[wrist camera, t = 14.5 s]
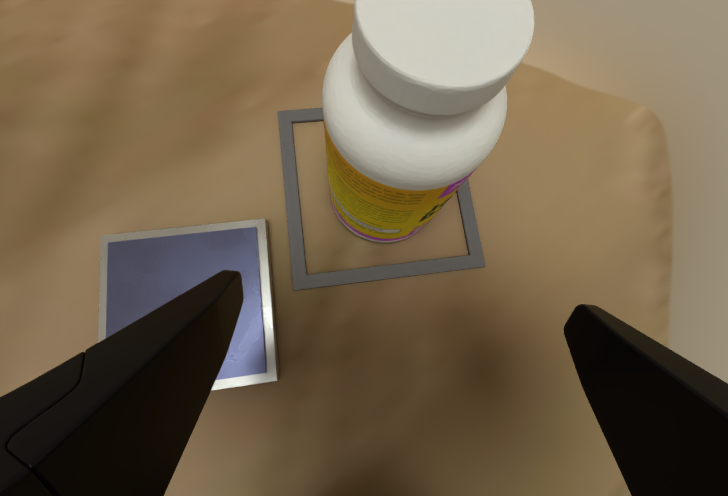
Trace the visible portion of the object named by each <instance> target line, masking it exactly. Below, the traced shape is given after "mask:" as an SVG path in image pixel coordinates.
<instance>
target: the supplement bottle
mask: <svg viewBox="0 0 728 496" xmlns="http://www.w3.org/2000/svg"><path fill="white" fill-rule="evenodd" d="M533 31H534V12H533V8H532V3H531V0H355V2H354V14H353V28H352V33H351V34H350V35H349V36H348V37H347V38H346V39H345V40H344V41H343V42H342V43H341V45H340V46H339V47H338V49H337V50H336V52H335V53H334V55H333V57H332V59H331V61H330V63H329V65H328V68H327V71H326V74H325V78H324V82H323V92H322V104H323V118H324V128H325V139H326V154H327V165H328V180H329V191H330V197H331V202H332V205H333V208H334V210H335V213H336V214H337V216H338V218H339V219H340V221H341V222H342V223H343V224H344V225H345V226H346V227H347V228H348V229H349V230H350V231H352V232H353V233H354V234H356V235H358V236H360V237H362V238H364V239H367V240H370V241H374V242H382V243H390V242H397V241H401V240H404V239H407V238H409V237H411V236H412V235H414V234H416V233H417V232H418V231H420V230H421V229H422V228H423V227H424V226H425V225H426V224H427V223H428V222H429V221H430V220H431V219H432V218H433V216H434V215H435V214H436V213H437V212H438V211H439V210H440V209H441V208H442V206H443V205H444V204H445V203H446V202H447V201H448V200H449V199H450V198H451V196H452V195H453V194H454V193H455V192H456V191H457V190H458V189H459V187H460V186H461V185H462V184H463V183H464V182H465V181H466V179H467V178H468V177H469V176H470V175H471V174H472V173H473V172H474V171H475V170H476V169H477V167H478V166H479V165H480V164H481V163H482V162H483V161H484V160H485V159H486V157H487V156H488V155H489V153H490V152H491V151H492V149H493V148H494V146H495V144H496V142H497V141H498V139H499V137H500V134H501V132H502V129H503V126H504V122H505V117H506V111H507V94H506V86H505V85H506V84H507V82H508V81H509V79H510V77H511V76H512V74H513V73H514V71H515V70H516V69H517V67H518V66H519V64H520V63H521V61H522V60H523V58H524V56H525V55H526V53H527V51H528V48H529V46H530V44H531V40H532V36H533Z"/></svg>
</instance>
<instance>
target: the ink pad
mask: <svg viewBox="0 0 728 496" xmlns="http://www.w3.org/2000/svg"><path fill="white" fill-rule="evenodd" d="M222 270H233V271H239V272H240V274H241V277H242V285H243V294H244V299H243V305H242V308H241V311H240V314H239V318H238V321H237V324H236V327H235V330H234V333H233V337H232V340H231V343H230V346H229V349H228V352H227V355H226V358H225V360H224V363H223V365H222V367H221V369H220V372H219V374H218V376H217V378H216V380H215V383H214V385H213V387H212V389H211V390H218V389H225V388H232V387H238V386H245V385H252V384H259V383H265V382H272V381H277V380H278V379H279V378H280V374H279V361H278V348H277V335H276V322H275V309H274V296H273V282H272V269H271V256H270V243H269V230H268V222H267V221H266V219H255V220H245V221H236V222H226V223H217V224H207V225H198V226H188V227H178V228H169V229H159V230H150V231H140V232H130V233H121V234H111V235H102V236H101V255H100V294H99V333H98V343H99V342H100V341H102V340H104V339H105V338H107V337H109V336H111V335H112V334H114V333H116V332H117V331H119V330H121V329H123V328H124V327H126V326H128V325H129V324H131V323H133V322H135V321H136V320H138V319H140V318H141V317H143V316H145V315H147V314H148V313H150V312H152V311H153V310H155V309H157V308H159V307H160V306H162V305H164V304H165V303H167V302H169V301H171V300H172V299H174V298H176V297H177V296H179V295H181V294H183V293H184V292H186V291H188V290H189V289H191V288H193V287H195V286H196V285H198V284H200V283H201V282H203V281H205V280H207V279H208V278H210V277H212V276H213V275H215V274H217V273H219V272H220V271H222Z"/></svg>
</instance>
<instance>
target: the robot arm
mask: <svg viewBox="0 0 728 496" xmlns="http://www.w3.org/2000/svg"><path fill="white" fill-rule="evenodd" d="M243 299H244V294H243V285H242V277H241V274H240V272H239V271H233V270H222V271H220V272H219V273H217V274H215V275H213V276H212V277H210V278H208V279H207V280H205V281H203V282H201V283H200V284H198V285H196V286H195V287H193V288H191V289H189V290H188V291H186V292H184V293H183V294H181V295H179V296H177V297H176V298H174V299H172V300H171V301H169V302H167V303H165V304H164V305H162V306H160V307H159V308H157V309H155V310H153V311H152V312H150V313H148V314H147V315H145V316H143V317H141V318H140V319H138V320H136V321H135V322H133V323H131V324H129V325H128V326H126V327H124V328H123V329H121V330H119V331H117V332H116V333H114V334H112V335H111V336H109V337H107V338H105V339H104V340H102V341H100V342H99V343H97V344H95V345H93V346H92V347H90V348H88V349H87V350H86V351H85V352H81V353H79V354H78V355H76V356H74V357H73V358H71V359H69V360H67V361H66V362H64V363H62V364H61V365H59V366H57V367H55V368H53V369H52V370H50V371H48V372H46V373H44V374H43V375H41V376H39V377H37V378H36V379H34V380H32V381H30V382H28V383H27V384H25V385H23V386H21V387H19V388H17V389H15V390H13V391H11V392H9V393H8V394H6V395H4V396H2V397H0V496H164V494H165V491H166V489H167V487H168V485H169V483H170V480H171V478H172V476H173V474H174V471H175V469H176V467H177V465H178V463H179V460H180V458H181V456H182V454H183V451H184V449H185V447H186V445H187V443H188V440H189V438H190V436H191V434H192V432H193V429H194V427H195V425H196V423H197V420H198V418H199V416H200V414H201V412H202V409H203V407H204V405H205V403H206V400H207V398H208V396H209V394H210V392H211V389H212V387H213V385H214V383H215V380H216V378H217V376H218V374H219V372H220V369H221V367H222V365H223V363H224V360H225V358H226V355H227V352H228V349H229V346H230V343H231V340H232V337H233V333H234V330H235V327H236V324H237V321H238V318H239V314H240V311H241V308H242V305H243ZM564 335H565V338H566V341H567V344H568V347H569V350H570V353H571V356H572V359H573V362H574V365H575V368H576V370H577V373H578V376H579V379H580V382H581V385H582V387H583V390H584V392H585V394H586V397H587V399H588V401H589V403H590V405H591V408H592V410H593V412H594V414H595V416H596V419H597V421H598V423H599V425H600V427H601V429H602V432H603V434H604V436H605V438H606V440H607V443H608V445H609V447H610V449H611V451H612V454H613V456H614V458H615V460H616V462H617V465H618V467H619V469H620V471H621V473H622V476H623V478H624V480H625V482H626V484H627V487H628V489H629V491H630V493H631V495H632V496H728V384H727V383H726V382H724V381H722V380H721V379H719V378H717V377H716V376H714V375H712V374H710V373H709V372H707V371H705V370H704V369H702V368H700V367H699V366H697V365H695V364H693V363H692V362H690V361H688V360H687V359H685V358H683V357H682V356H680V355H678V354H677V353H675V352H673V351H672V350H670V349H668V348H667V347H665V346H663V345H662V344H660V343H658V342H657V341H655V340H653V339H652V338H650V337H648V336H646V335H645V334H643V333H641V332H640V331H638V330H636V329H635V328H633V327H631V326H630V325H628V324H626V323H625V322H623V321H621V320H620V319H618V318H616V317H614V316H613V315H611V314H609V313H608V312H606V311H604V310H603V309H601V308H599V307H597V306H595V305H586V304H580V305H578V306H576V307H575V309H574V311H573V312H572V314H571V316H570V317H569V319H568V321H567V322H566V324H565V326H564Z"/></svg>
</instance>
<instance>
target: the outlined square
mask: <svg viewBox="0 0 728 496" xmlns="http://www.w3.org/2000/svg"><path fill="white" fill-rule="evenodd" d="M278 119H279V130H280V142H281V153H282V164H283V176H284V187H285V198H286V210H287V221H288V232H289V243H290V255H291V266H292V277H293V289H294V291H295V290H303V289H311V288H319V287H327V286H335V285H343V284H351V283H359V282H367V281H375V280H383V279H391V278H399V277H407V276H415V275H423V274H431V273H439V272H447V271H455V270H463V269H471V268H479V267H485V262H484V257H483V252H482V247H481V242H480V237H479V232H478V227H477V222H476V218H475V213H474V208H473V203H472V198H471V193H470V188H469V183H468V178H467V179H466V181H465V182H464V183H463V184H462V185H461V186H460V187H459V189H458V190H457V196H458V201H459V206H460V212H461V217H462V222H463V227H464V232H465V237H466V242H467V247H468V253H469V255H467V256H459V257H451V258H442V259H434V260H426V261H418V262H409V263H401V264H393V265H384V266H376V267H368V268H360V269H351V270H343V271H335V272H327V273H318V274H310V275H306V264H305V254H304V244H303V233H302V223H301V213H300V202H299V192H298V182H297V171H296V161H295V151H294V140H293V130H292V123H301V122H313V121H324V118H323V108H314V109H301V110H288V111H278Z"/></svg>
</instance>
